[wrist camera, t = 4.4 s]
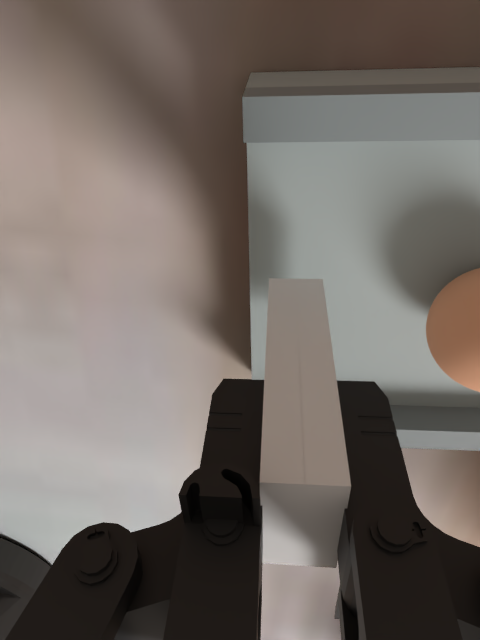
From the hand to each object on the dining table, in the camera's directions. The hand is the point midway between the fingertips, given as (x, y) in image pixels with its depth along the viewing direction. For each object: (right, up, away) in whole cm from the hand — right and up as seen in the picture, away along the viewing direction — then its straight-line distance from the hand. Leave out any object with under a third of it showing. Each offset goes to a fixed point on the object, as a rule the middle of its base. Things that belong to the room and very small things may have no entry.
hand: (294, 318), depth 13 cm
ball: (+6, 0, -1) cm, 6 cm away
